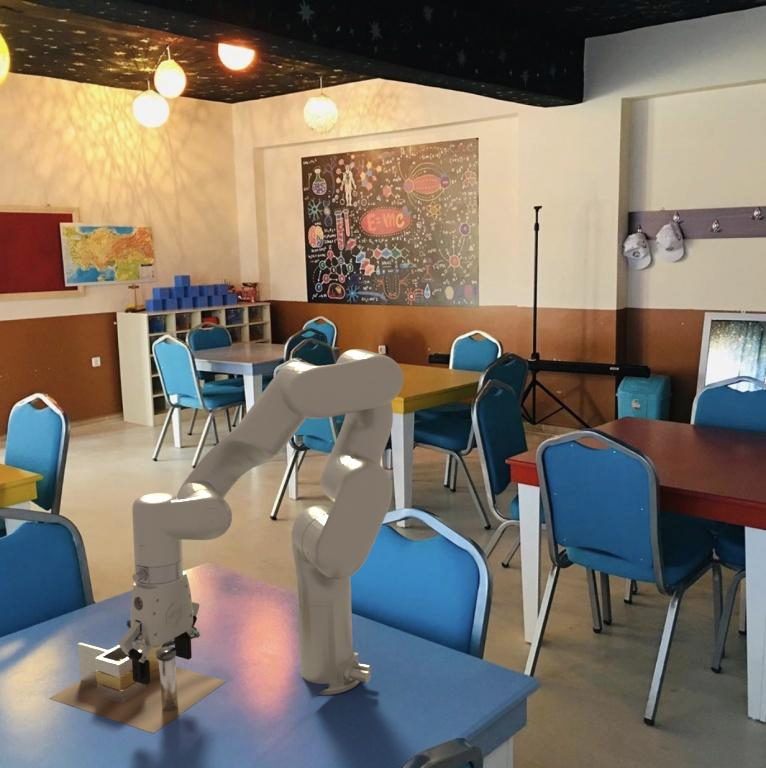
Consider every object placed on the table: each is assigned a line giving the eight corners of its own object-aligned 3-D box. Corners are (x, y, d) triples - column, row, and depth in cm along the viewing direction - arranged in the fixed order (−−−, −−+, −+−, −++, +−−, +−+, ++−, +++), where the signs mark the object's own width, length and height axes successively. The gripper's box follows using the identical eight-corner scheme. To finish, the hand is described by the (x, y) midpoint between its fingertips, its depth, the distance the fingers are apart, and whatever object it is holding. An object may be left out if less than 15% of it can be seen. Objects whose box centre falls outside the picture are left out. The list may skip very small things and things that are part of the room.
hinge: (173, 670, 151) (171, 634, 150) (121, 703, 140) (118, 665, 139) (123, 656, 157) (120, 621, 156) (69, 687, 146) (66, 649, 145)
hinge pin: (184, 704, 139) (180, 648, 138) (170, 714, 136) (166, 657, 135) (169, 700, 141) (165, 644, 139) (156, 709, 138) (151, 653, 136)
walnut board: (227, 689, 147) (226, 681, 147) (154, 741, 131) (153, 733, 131) (127, 660, 158) (127, 653, 158) (49, 706, 143) (49, 698, 142)
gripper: (136, 592, 125) (141, 698, 128) (212, 557, 140) (215, 653, 143) (101, 583, 129) (106, 687, 131) (178, 550, 144) (181, 643, 146)
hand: (163, 669), depth 137 cm, fingers open, 9 cm apart
